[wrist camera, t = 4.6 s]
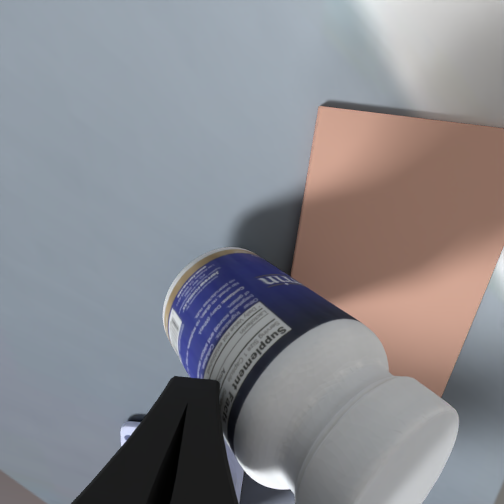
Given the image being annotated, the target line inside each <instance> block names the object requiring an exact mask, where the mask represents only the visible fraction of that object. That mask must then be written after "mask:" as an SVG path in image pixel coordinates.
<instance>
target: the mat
mask: <svg viewBox="0 0 504 504" xmlns="http://www.w3.org/2000/svg"><path fill="white" fill-rule="evenodd" d="M503 246H504V128H497V127H489V126H481V125H473V124H464V123H456V122H448V121H439V120H431V119H423V118H415V117H406V116H398V115H390V114H382V113H373V112H365V111H357V110H349V109H340V108H332V107H324V106H320V107H319V108H318V114H317V119H316V125H315V131H314V137H313V143H312V149H311V155H310V161H309V167H308V173H307V179H306V185H305V191H304V197H303V203H302V209H301V215H300V221H299V227H298V233H297V239H296V245H295V251H294V257H293V263H292V269H291V275H290V277H292V278H294V279H295V280H296V281H298V282H299V283H301V284H303V285H304V286H306V287H307V288H309V289H310V290H312V291H314V292H315V293H317V294H318V295H320V296H321V297H323V298H324V299H326V300H327V301H329V302H330V303H332V304H333V305H335V306H337V307H338V308H340V309H341V310H343V311H344V312H346V313H348V314H349V315H351V316H352V317H354V318H355V319H357V320H358V321H360V322H361V323H363V324H364V325H365V326H367V327H368V328H369V329H370V330H371V331H372V332H374V334H375V335H376V336H377V337H378V338H379V340H380V342H381V343H382V345H383V347H384V350H385V352H386V355H387V360H388V366H389V372H390V373H391V374H392V375H393V376H407V377H411V378H414V379H416V380H417V381H418V382H420V383H421V384H423V385H424V386H425V387H427V388H428V389H430V390H431V391H432V392H434V393H435V394H436V395H438V396H439V397H440V398H441V397H442V395H443V392H444V390H445V387H446V385H447V382H448V380H449V378H450V375H451V373H452V370H453V368H454V365H455V363H456V361H457V358H458V356H459V353H460V351H461V348H462V346H463V344H464V341H465V339H466V336H467V334H468V331H469V329H470V327H471V324H472V322H473V319H474V317H475V314H476V312H477V310H478V307H479V305H480V302H481V300H482V297H483V295H484V293H485V290H486V288H487V285H488V283H489V280H490V278H491V275H492V273H493V271H494V268H495V266H496V263H497V261H498V258H499V256H500V254H501V251H502V249H503Z"/></svg>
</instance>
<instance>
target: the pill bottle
mask: <svg viewBox="0 0 504 504" xmlns="http://www.w3.org/2000/svg"><path fill="white" fill-rule="evenodd" d="M163 324H164V328H165V331H166V334H167V336H168V338H169V341H170V343H171V345H172V346H173V348H174V350H175V352H176V353H177V355H178V357H179V359H180V361H181V363H182V364H183V366H184V367H185V369H186V371H187V373H188V374H189V376H190V378H200V379H212V380H217V381H218V382H219V383H220V393H219V400H220V414H221V423H222V430H223V436H224V438H225V439H226V441H227V443H228V445H229V447H230V448H231V450H232V452H233V454H234V456H235V457H236V459H237V460H238V462H239V464H240V465H241V466H242V468H243V469H244V470H245V472H246V473H247V474H248V475H249V476H250V477H251V478H252V479H254V480H255V481H256V482H258V483H259V484H261V485H264V486H266V487H269V488H274V489H291V491H292V492H293V493H294V495H295V496H294V497H295V504H421V503H422V502H423V501H424V499H425V498H426V496H427V495H428V493H429V492H430V490H431V489H432V487H433V485H434V484H435V482H436V481H437V479H438V477H439V475H440V474H441V472H442V470H443V468H444V466H445V464H446V462H447V460H448V458H449V456H450V453H451V451H452V449H453V446H454V443H455V441H456V437H457V433H458V429H459V416H458V413H457V411H456V410H455V409H454V408H453V407H452V406H451V405H449V404H448V403H447V402H446V401H444V400H443V399H442V398H440V397H439V396H438V395H436V394H435V393H434V392H432V391H431V390H430V389H428V388H427V387H425V386H424V385H423V384H421V383H420V382H418V381H417V380H416V379H414V378H411V377H407V376H393V375H392V374H391V373H390V372H389V366H388V360H387V355H386V352H385V350H384V347H383V345H382V343H381V342H380V340H379V338H378V337H377V336H376V335H375V334H374V332H372V331H371V330H370V329H369V328H368V327H367V326H365V325H364V324H363V323H361V322H360V321H358V320H357V319H355V318H354V317H352V316H351V315H349V314H348V313H346V312H344V311H343V310H341V309H340V308H338V307H337V306H335V305H333V304H332V303H330V302H329V301H327V300H326V299H324V298H323V297H321V296H320V295H318V294H317V293H315V292H314V291H312V290H310V289H309V288H307V287H306V286H304V285H303V284H301V283H299V282H298V281H296V280H295V279H294V278H292V277H290V276H289V275H287V274H286V273H284V272H283V271H281V270H280V269H278V268H277V267H275V266H274V265H272V264H270V263H269V262H267V261H266V260H264V259H263V258H261V257H260V256H258V255H257V254H255V253H253V252H251V251H249V250H246V249H242V248H237V247H225V248H219V249H215V250H212V251H209V252H207V253H205V254H203V255H201V256H199V257H198V258H196V259H195V260H193V261H192V262H191V263H189V264H188V265H187V266H186V267H185V268H184V269H183V270H182V271H181V272H180V273H179V274H178V276H177V277H176V278H175V280H174V281H173V283H172V285H171V286H170V288H169V291H168V293H167V296H166V299H165V302H164V307H163Z"/></svg>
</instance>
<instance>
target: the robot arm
mask: <svg viewBox="0 0 504 504" xmlns="http://www.w3.org/2000/svg"><path fill="white" fill-rule="evenodd" d="M219 393H220V383H219V382H218V381H217V380H212V379H200V378H189V377H178V376H174V377H173V378H172V379H171V380H170V381H169V383H168V384H167V386H166V388H165V389H164V391H163V392H162V394H161V395H160V397H159V398H158V400H157V401H156V402H155V404H154V405H153V407H152V408H151V409H150V411H149V412H148V413H147V415H146V416H145V418H144V419H143V420H142V421H141V422H133V421H127V422H125V423H124V424H123V425H122V428H121V448H120V449H119V450H118V451H117V453H116V454H115V455H114V456H113V457H112V458H111V460H110V461H109V462H108V463H107V464H106V465H105V467H104V468H103V469H102V470H101V471H100V472H99V474H98V475H97V476H96V477H95V478H94V479H93V480H92V482H91V483H90V484H89V485H88V486H87V487H86V488H85V489H84V490H83V491H82V492H81V494H80V495H79V496H78V497H77V498H76V499H75V500H74V501H73V502H72V503H71V504H239V501H240V494H241V488H242V481H243V474H244V469H243V468H242V466H241V465H240V464H239V462H238V460H237V459H236V457H235V456H234V454H233V452H232V450H231V448H230V447H229V445H228V443H227V441H226V439H225V438H224V436H223V430H222V423H221V414H220V400H219Z"/></svg>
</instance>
